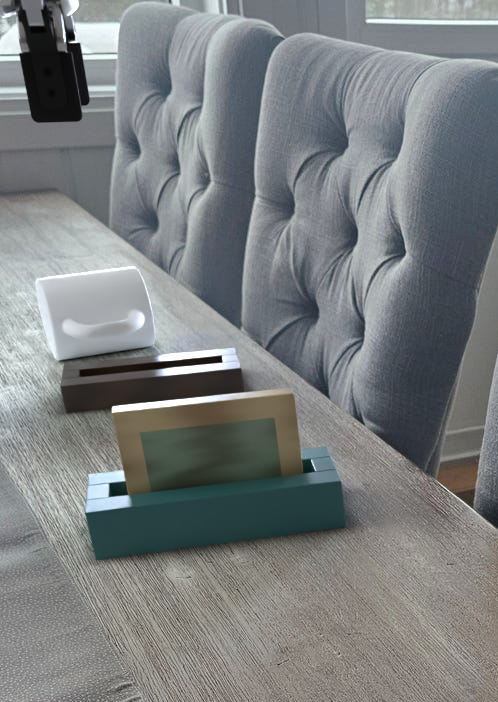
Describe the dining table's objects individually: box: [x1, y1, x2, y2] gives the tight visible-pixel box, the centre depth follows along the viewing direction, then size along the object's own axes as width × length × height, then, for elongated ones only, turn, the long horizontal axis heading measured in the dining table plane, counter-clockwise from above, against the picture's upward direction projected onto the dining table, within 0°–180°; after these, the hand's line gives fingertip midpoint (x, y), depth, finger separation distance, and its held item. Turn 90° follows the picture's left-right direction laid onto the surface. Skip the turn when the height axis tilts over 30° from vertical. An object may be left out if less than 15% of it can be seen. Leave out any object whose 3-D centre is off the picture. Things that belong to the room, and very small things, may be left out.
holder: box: [84, 445, 347, 561], centre depth 79 cm, size 17×7×4 cm, turn 105°
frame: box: [111, 387, 303, 495], centre depth 78 cm, size 12×1×9 cm, turn 105°
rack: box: [59, 346, 246, 414], centre depth 105 cm, size 16×7×2 cm, turn 105°
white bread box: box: [34, 265, 156, 361], centre depth 114 cm, size 12×10×8 cm
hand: (63, 113), depth 78 cm, fingers open, 9 cm apart
